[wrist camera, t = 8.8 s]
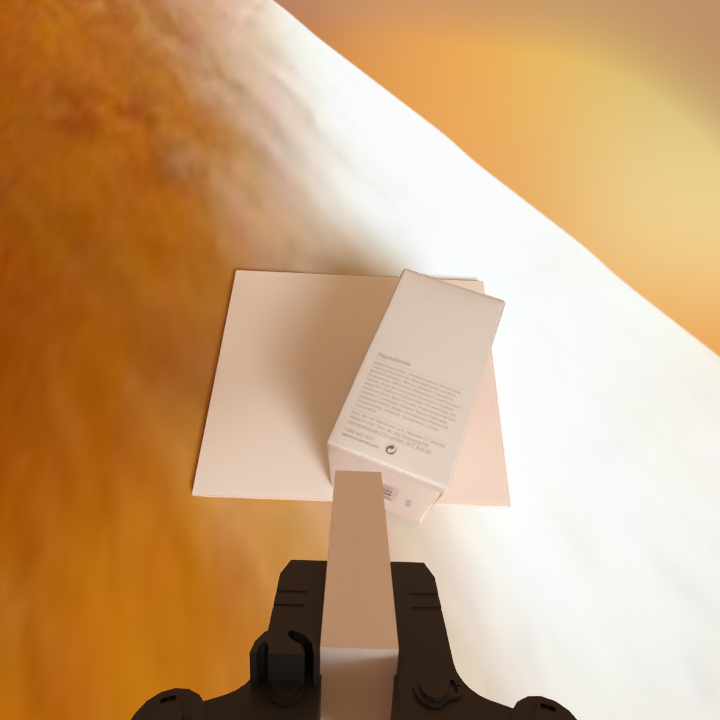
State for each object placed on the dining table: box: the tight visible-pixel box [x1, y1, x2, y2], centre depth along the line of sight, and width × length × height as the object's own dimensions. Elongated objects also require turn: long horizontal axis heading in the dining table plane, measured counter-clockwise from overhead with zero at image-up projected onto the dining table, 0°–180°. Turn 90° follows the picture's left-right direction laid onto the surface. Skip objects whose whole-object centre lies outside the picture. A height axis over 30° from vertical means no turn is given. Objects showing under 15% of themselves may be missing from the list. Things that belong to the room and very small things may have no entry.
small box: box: [326, 269, 505, 524], centre depth 25 cm, size 8×6×10 cm
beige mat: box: [192, 270, 510, 508], centre depth 30 cm, size 16×18×1 cm
